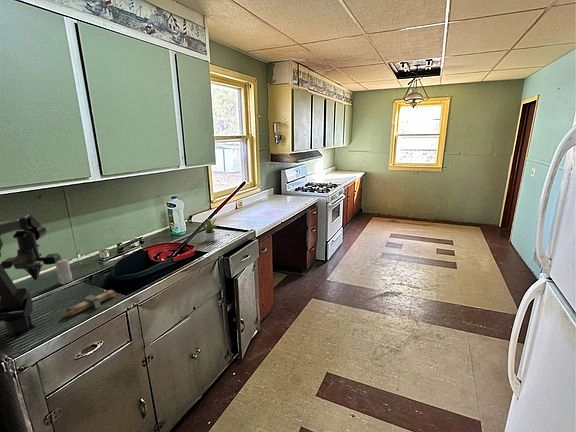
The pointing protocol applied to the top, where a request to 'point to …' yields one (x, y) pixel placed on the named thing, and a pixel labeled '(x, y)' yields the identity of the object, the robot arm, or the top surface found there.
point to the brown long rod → (86, 304)
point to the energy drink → (63, 271)
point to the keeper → (94, 301)
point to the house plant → (209, 230)
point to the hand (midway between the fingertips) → (36, 279)
